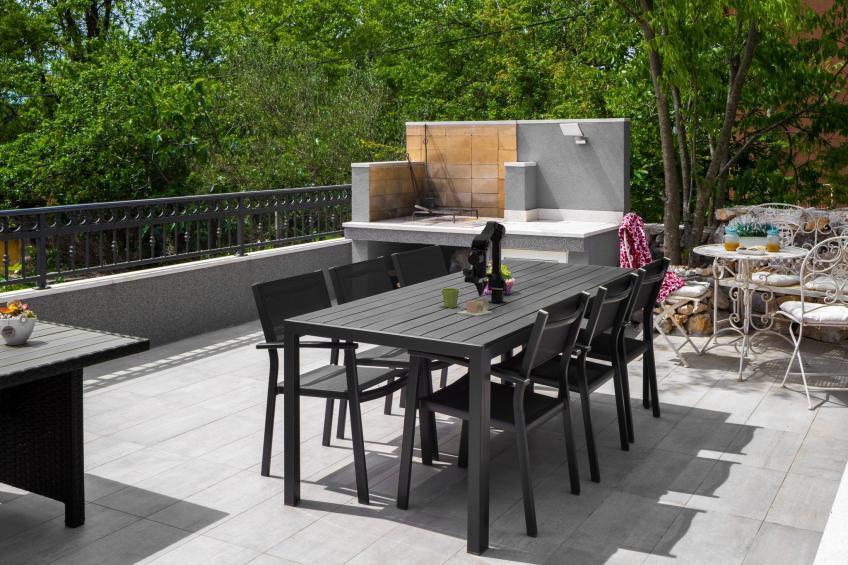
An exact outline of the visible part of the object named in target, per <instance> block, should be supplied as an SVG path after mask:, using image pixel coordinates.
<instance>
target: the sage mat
mask: <svg viewBox="0 0 848 565" xmlns="http://www.w3.org/2000/svg"><path fill="white" fill-rule="evenodd" d="M456 313H457V314H462V315H468V316H475V317H478V316H483V315H484V316H485V315H488V314H491V313H493V311H492V310H491V311H490V310H487V311H482V312H478V313H471V312H467V309H464V310H461V311H460V310H459V311H456Z"/></svg>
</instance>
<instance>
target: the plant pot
mask: <svg viewBox="0 0 848 565" xmlns="http://www.w3.org/2000/svg"><path fill="white" fill-rule="evenodd" d="M440 291H441V294H442V299H443V306H444V308H449V309H451V308H457V307H458V299H459V294H460V291H461V289H460V288H457V287H456V288H454V287H453V288H452V287H451V288H450V287H448V288H447V287H446V288H445V287H444V288H441V289H440Z"/></svg>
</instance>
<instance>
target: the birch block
mask: <svg viewBox="0 0 848 565" xmlns="http://www.w3.org/2000/svg"><path fill="white" fill-rule="evenodd" d="M488 307H489V300H488V299H482V298H477V299H473V300H469V301H466V310H467V312H471V313H478V312H482V311H489V308H488Z"/></svg>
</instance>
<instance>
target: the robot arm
mask: <svg viewBox="0 0 848 565" xmlns="http://www.w3.org/2000/svg"><path fill="white" fill-rule="evenodd" d="M506 230H507V229H506V226H505V225H503V224H501V223H499V222H498V221H495V220H488V221H486V224H485V226H484V228H483V229H482V231H481V233H480V234H477V235H476V236H474V238H473V239H472V241H471V245H470V249H469V252H471V254H469V256H468V257H467V261H468V263H469V265H470V266H472V268H470V269H469V268H463V270H462V276H465V277H464V283H468V284H469V283H470V284H474V286H475V288H476V292H477V294H478V296H479V297H481V296H483V294H484V292H485V289H486V288H487V287H488V288H487V289H488V290H487V291H491V295H490V298H491V300H488V303H491V304H504V303H506V302H507V301H506V300H505V299H504V292H507V291H508V284H507V281H506V279H505V274H504V273H503V271H502V241H504V239H505V236H506V232H507V231H506ZM490 245H491V272H487V269H488V268H489V265H488V264H487V262H488V261H487V258H488V257H487V256H488V251H489V248H490Z"/></svg>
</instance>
